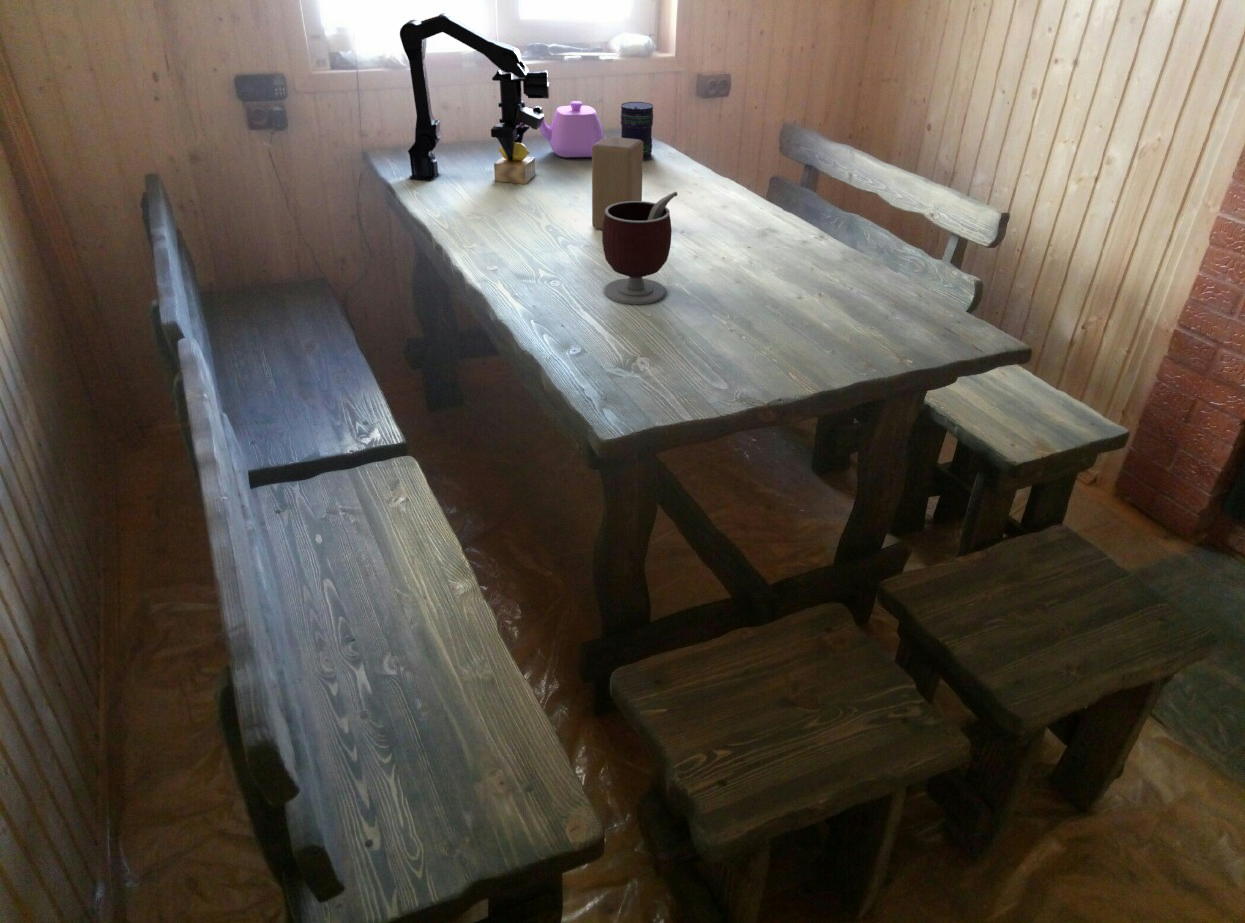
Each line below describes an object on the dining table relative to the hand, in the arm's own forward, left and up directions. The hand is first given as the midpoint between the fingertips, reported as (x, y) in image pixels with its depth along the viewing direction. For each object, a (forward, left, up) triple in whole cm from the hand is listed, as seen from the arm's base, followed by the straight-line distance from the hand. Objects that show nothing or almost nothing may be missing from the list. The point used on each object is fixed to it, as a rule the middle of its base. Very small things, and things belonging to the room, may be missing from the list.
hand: (514, 157), depth 245 cm
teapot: (+9, +30, -6) cm, 32 cm away
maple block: (0, 0, -6) cm, 6 cm away
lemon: (0, 0, -1) cm, 1 cm away
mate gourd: (+51, -70, -6) cm, 87 cm away
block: (+37, -31, -6) cm, 49 cm away
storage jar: (+28, +32, -6) cm, 43 cm away
